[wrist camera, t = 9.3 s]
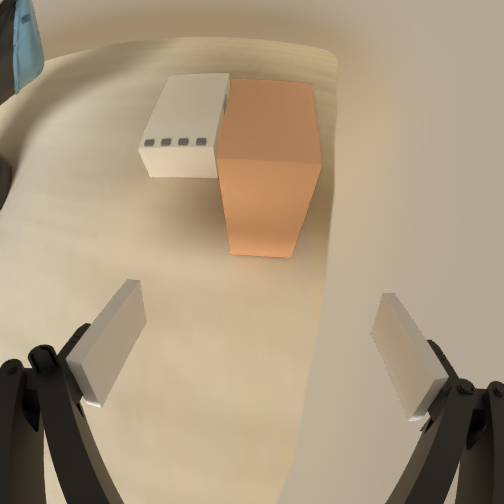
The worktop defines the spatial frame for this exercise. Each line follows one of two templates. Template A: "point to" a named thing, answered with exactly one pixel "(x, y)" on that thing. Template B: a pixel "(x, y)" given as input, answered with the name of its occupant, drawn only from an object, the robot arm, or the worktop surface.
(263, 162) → the brown box
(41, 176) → the worktop surface
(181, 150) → the white button box
